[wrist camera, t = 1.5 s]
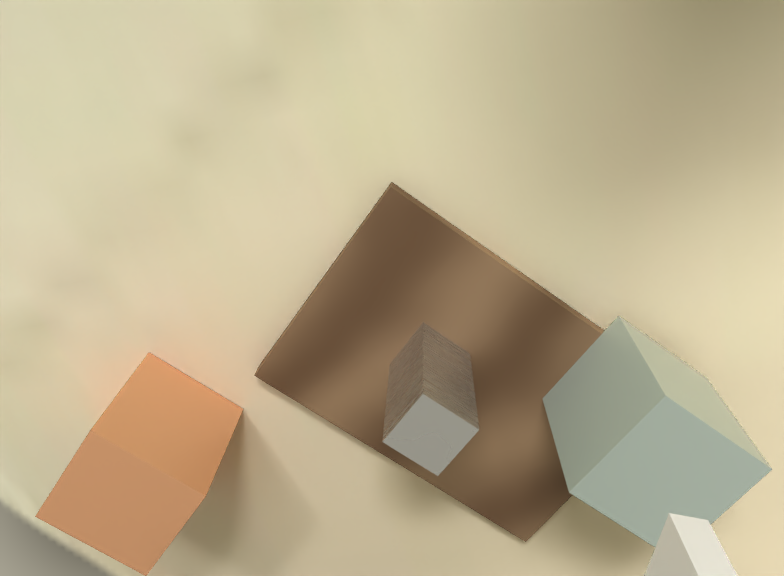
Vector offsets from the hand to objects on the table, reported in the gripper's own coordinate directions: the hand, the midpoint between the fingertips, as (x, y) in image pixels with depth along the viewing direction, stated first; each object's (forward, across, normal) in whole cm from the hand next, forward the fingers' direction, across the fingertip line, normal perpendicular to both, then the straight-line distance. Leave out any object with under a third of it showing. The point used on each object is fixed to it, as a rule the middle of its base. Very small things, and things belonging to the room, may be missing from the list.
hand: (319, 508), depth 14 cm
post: (+19, +3, -6) cm, 20 cm away
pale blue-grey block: (+19, +12, -5) cm, 24 cm away
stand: (+19, +5, -6) cm, 21 cm away
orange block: (+19, -8, -12) cm, 24 cm away
